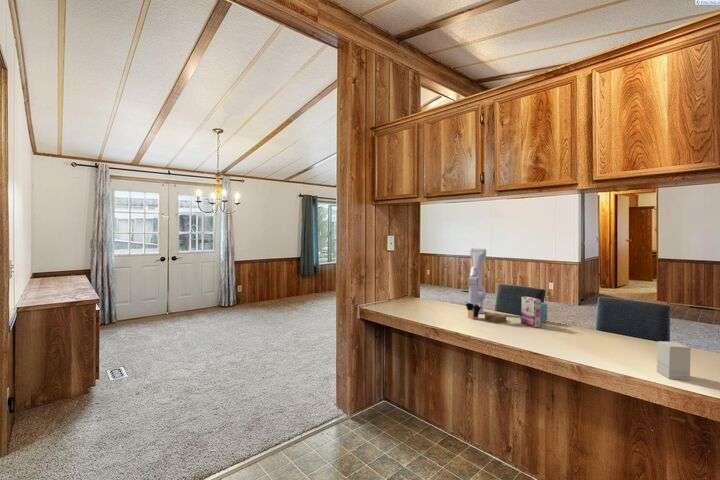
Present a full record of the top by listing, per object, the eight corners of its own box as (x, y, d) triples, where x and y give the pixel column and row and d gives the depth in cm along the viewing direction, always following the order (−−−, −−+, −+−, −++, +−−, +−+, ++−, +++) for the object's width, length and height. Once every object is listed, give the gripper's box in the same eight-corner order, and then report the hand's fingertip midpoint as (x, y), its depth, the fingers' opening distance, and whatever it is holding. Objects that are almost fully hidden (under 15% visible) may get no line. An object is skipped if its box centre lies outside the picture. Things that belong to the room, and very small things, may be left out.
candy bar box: (541, 327, 206) (541, 299, 205) (534, 328, 204) (534, 300, 204) (527, 322, 216) (527, 296, 216) (520, 323, 215) (520, 296, 215)
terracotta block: (468, 317, 228) (468, 310, 227) (473, 317, 229) (473, 309, 229) (472, 319, 223) (472, 311, 223) (478, 318, 225) (478, 311, 225)
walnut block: (484, 319, 224) (484, 314, 224) (495, 318, 228) (495, 313, 228) (495, 323, 216) (495, 317, 216) (506, 321, 220) (506, 316, 219)
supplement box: (690, 380, 133) (691, 347, 133) (668, 379, 135) (669, 346, 134) (676, 372, 141) (677, 341, 140) (655, 371, 142) (656, 340, 142)
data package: (547, 322, 217) (547, 303, 216) (543, 323, 214) (543, 304, 214) (528, 318, 226) (528, 300, 226) (524, 319, 224) (524, 300, 223)
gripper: (461, 293, 231) (460, 313, 231) (476, 297, 218) (475, 319, 218) (469, 292, 234) (469, 312, 234) (485, 296, 220) (484, 317, 221)
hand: (473, 315), depth 226 cm, fingers closed on terracotta block, 4 cm apart
